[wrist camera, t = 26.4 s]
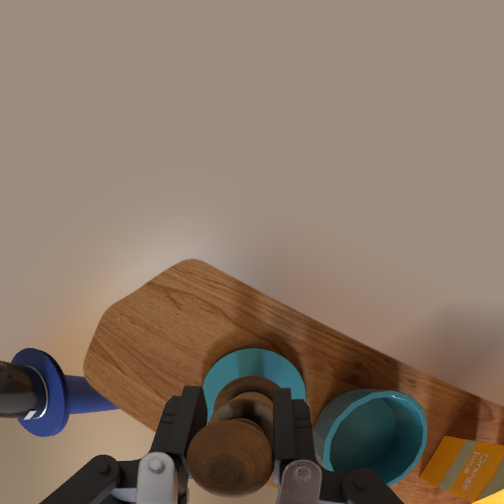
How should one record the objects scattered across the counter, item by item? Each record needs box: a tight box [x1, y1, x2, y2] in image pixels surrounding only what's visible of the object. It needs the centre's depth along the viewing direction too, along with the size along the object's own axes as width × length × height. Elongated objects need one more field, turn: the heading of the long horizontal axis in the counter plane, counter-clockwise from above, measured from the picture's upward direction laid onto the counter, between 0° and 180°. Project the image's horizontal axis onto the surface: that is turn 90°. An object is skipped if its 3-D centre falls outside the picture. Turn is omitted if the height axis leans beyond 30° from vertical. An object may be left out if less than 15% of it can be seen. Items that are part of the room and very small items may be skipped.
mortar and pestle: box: [187, 376, 281, 498], centre depth 15 cm, size 7×6×18 cm
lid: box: [203, 348, 306, 422], centre depth 31 cm, size 13×13×7 cm
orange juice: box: [419, 435, 504, 504], centre depth 17 cm, size 8×9×20 cm
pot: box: [312, 389, 428, 487], centre depth 27 cm, size 13×13×8 cm
